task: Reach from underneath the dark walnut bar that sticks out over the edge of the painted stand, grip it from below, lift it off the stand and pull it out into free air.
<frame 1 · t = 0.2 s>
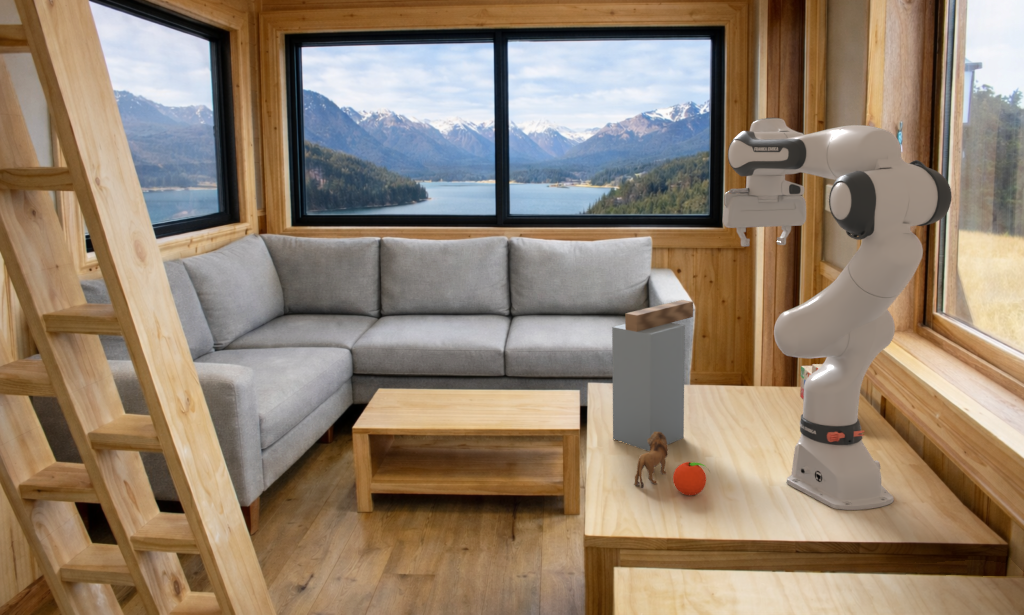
hand: (763, 245, 205), 48 cm above the table, tool pointing down, fingers open, 8 cm apart
stand: (648, 438, 213), on the table
stack of blocks: (823, 409, 232), on the table
bar: (660, 323, 210), point 29 cm above the table, touching stand
clementine: (691, 494, 180), on the table
lion figurine: (650, 477, 189), on the table
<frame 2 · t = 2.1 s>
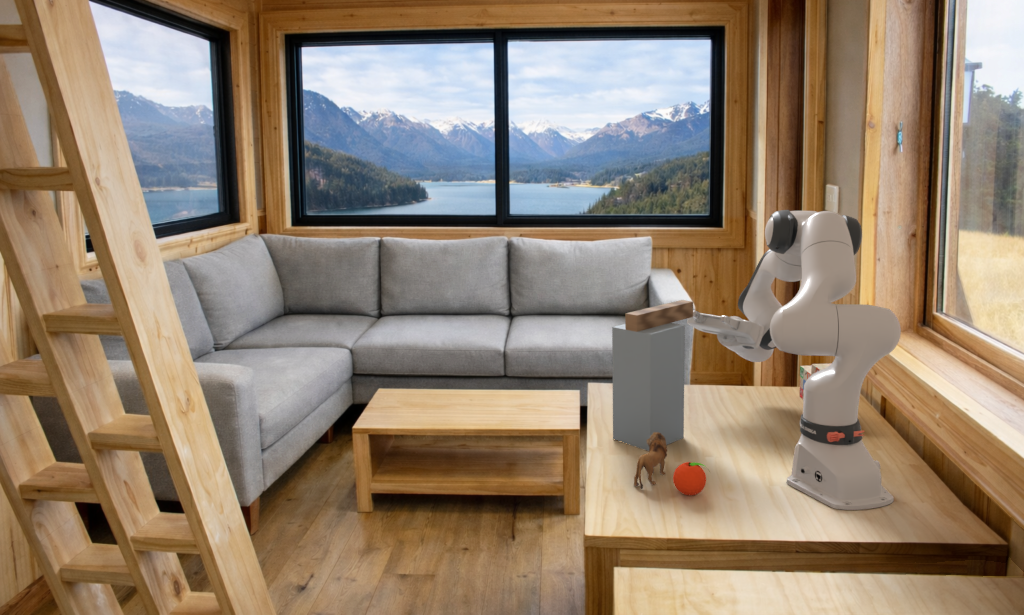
hand: (708, 315, 223), 28 cm above the table, tool pointing upward, fingers open, 8 cm apart
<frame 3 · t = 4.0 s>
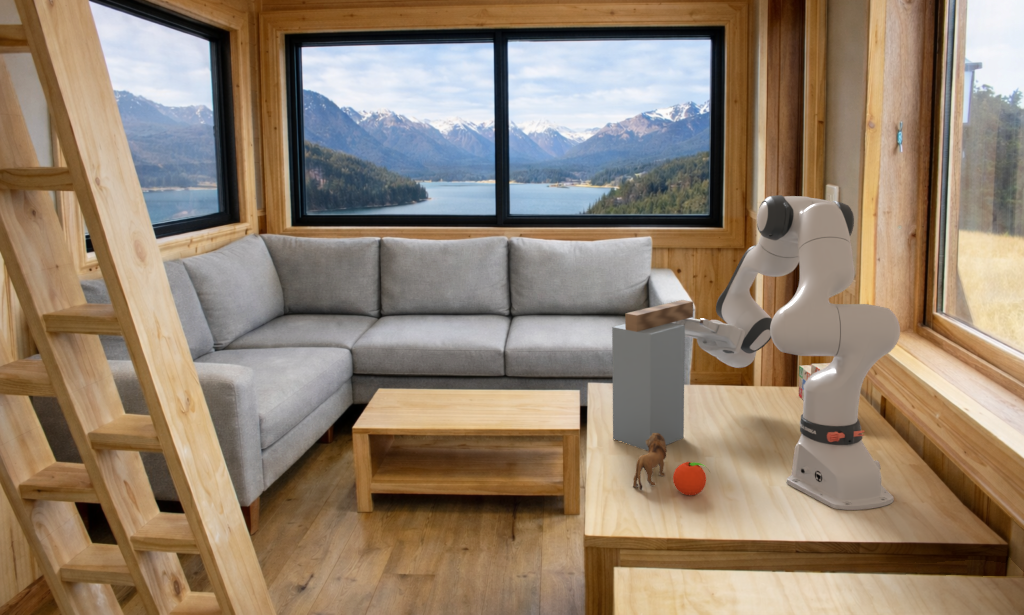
hand: (687, 319, 217), 28 cm above the table, tool pointing upward, fingers open, 8 cm apart
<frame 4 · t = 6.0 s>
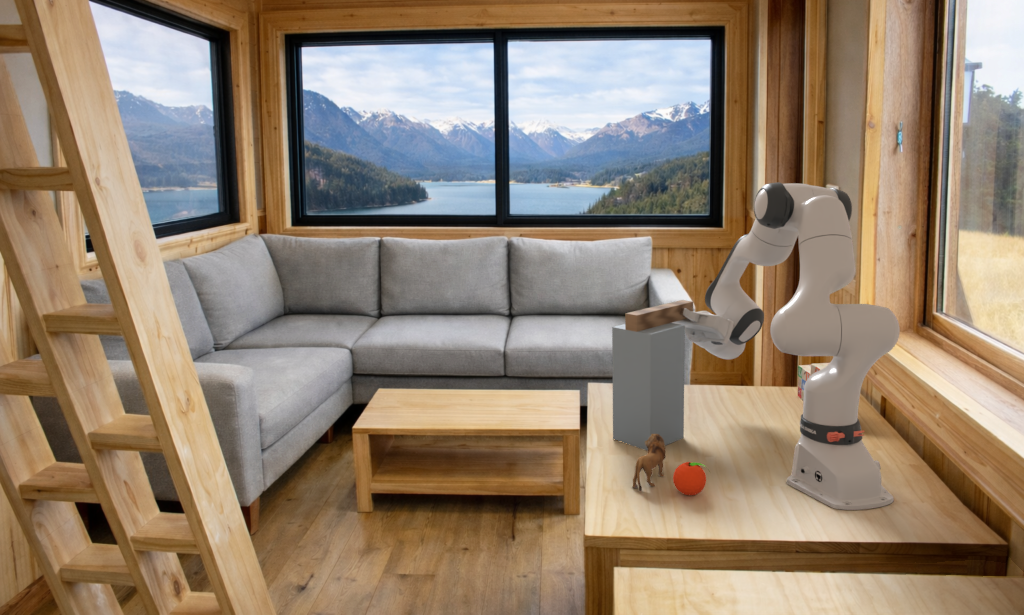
hand: (674, 309, 213), 31 cm above the table, tool pointing upward, fingers closed on bar, 3 cm apart
bar: (660, 323, 210), point 29 cm above the table, touching gripper, stand
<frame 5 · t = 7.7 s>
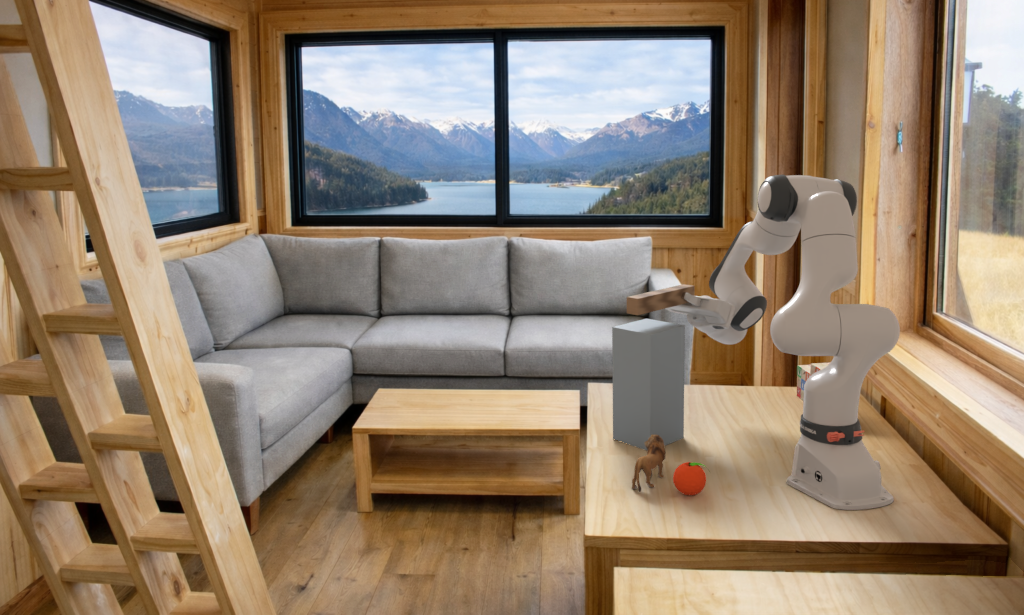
hand: (676, 294, 213), 35 cm above the table, tool pointing upward, fingers closed on bar, 3 cm apart
bar: (661, 307, 209), point 33 cm above the table, touching gripper
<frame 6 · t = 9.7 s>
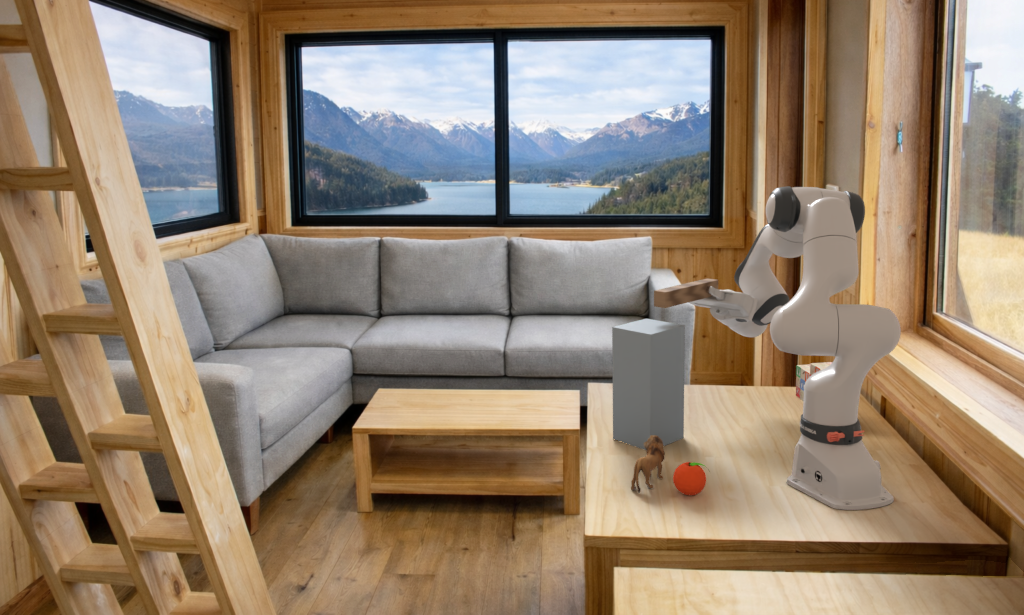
hand: (700, 287, 219), 36 cm above the table, tool pointing upward, fingers closed on bar, 3 cm apart
bar: (686, 300, 216), point 33 cm above the table, touching gripper
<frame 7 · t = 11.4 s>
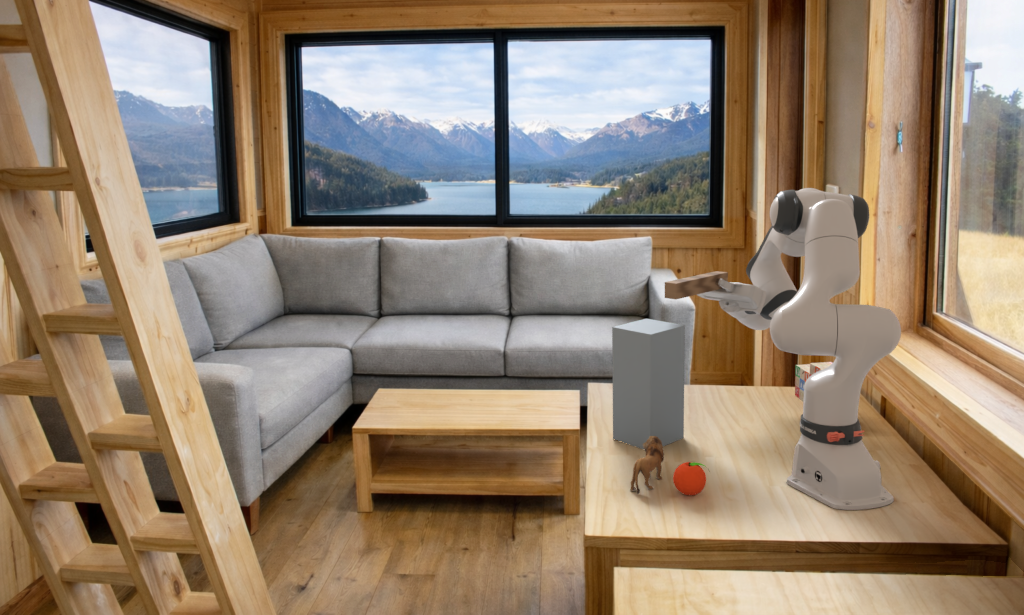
hand: (710, 280, 222), 37 cm above the table, tool pointing upward, fingers closed on bar, 3 cm apart
bar: (696, 292, 218), point 35 cm above the table, touching gripper
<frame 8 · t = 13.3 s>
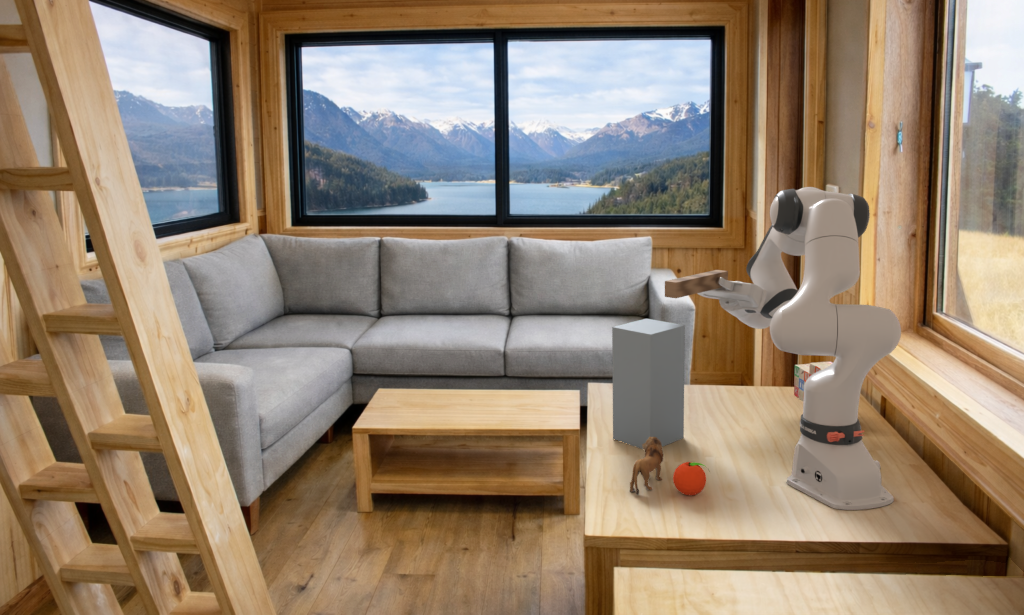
hand: (710, 278, 221), 37 cm above the table, tool pointing upward, fingers closed on bar, 3 cm apart
bar: (697, 291, 218), point 35 cm above the table, touching gripper
at the end: the gripper is holding bar; bar touching gripper; bar point 34.9 cm above the table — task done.
